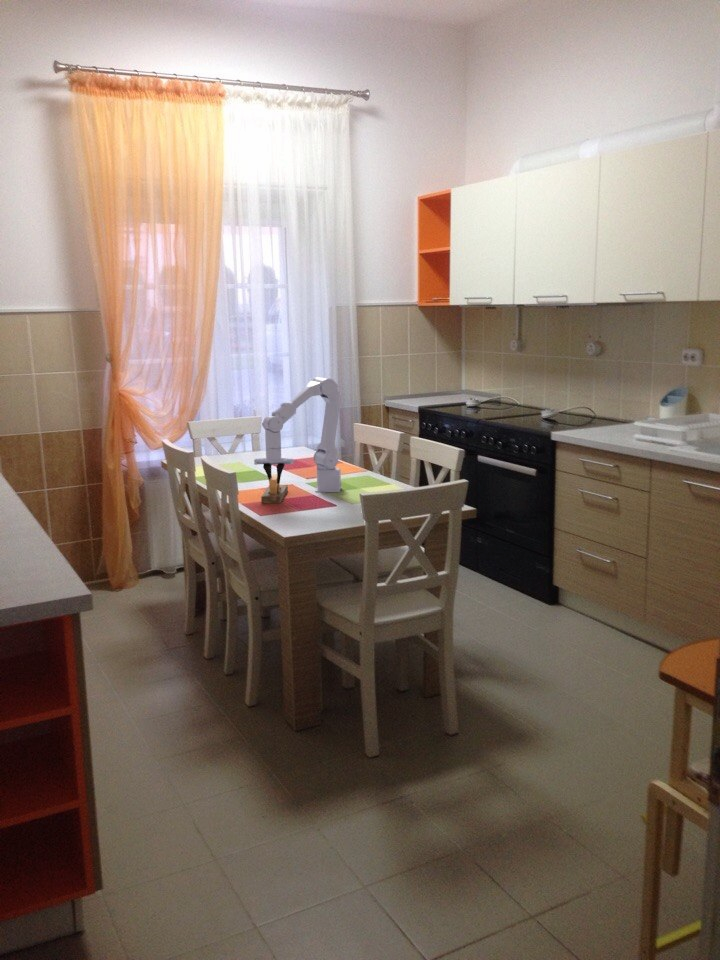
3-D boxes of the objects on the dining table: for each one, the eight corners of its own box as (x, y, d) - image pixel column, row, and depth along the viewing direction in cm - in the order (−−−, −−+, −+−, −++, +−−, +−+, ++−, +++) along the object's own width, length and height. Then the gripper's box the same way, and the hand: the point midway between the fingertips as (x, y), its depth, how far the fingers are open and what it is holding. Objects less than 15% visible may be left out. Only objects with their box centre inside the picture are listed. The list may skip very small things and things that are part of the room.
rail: (287, 490, 324) (287, 484, 323) (280, 503, 304) (280, 496, 303) (269, 490, 324) (269, 484, 323) (261, 503, 304) (261, 496, 304)
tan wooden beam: (279, 489, 318) (279, 474, 317) (276, 495, 309) (275, 480, 307) (273, 489, 318) (273, 474, 317) (269, 495, 309) (269, 480, 307)
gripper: (252, 449, 306) (253, 485, 309) (291, 449, 306) (292, 485, 309) (255, 446, 313) (256, 481, 316) (293, 446, 313) (294, 481, 315)
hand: (274, 483), depth 313 cm, fingers closed on tan wooden beam, 2 cm apart
